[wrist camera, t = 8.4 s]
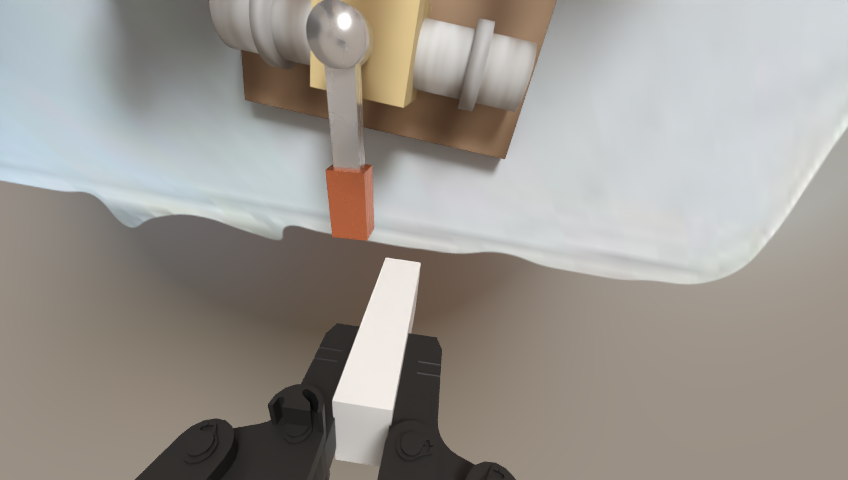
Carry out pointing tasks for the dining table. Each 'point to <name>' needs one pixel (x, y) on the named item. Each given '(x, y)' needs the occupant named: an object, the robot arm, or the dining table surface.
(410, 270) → the robot arm
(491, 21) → the valve stand
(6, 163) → the dining table surface
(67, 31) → the dining table surface
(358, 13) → the valve lever
